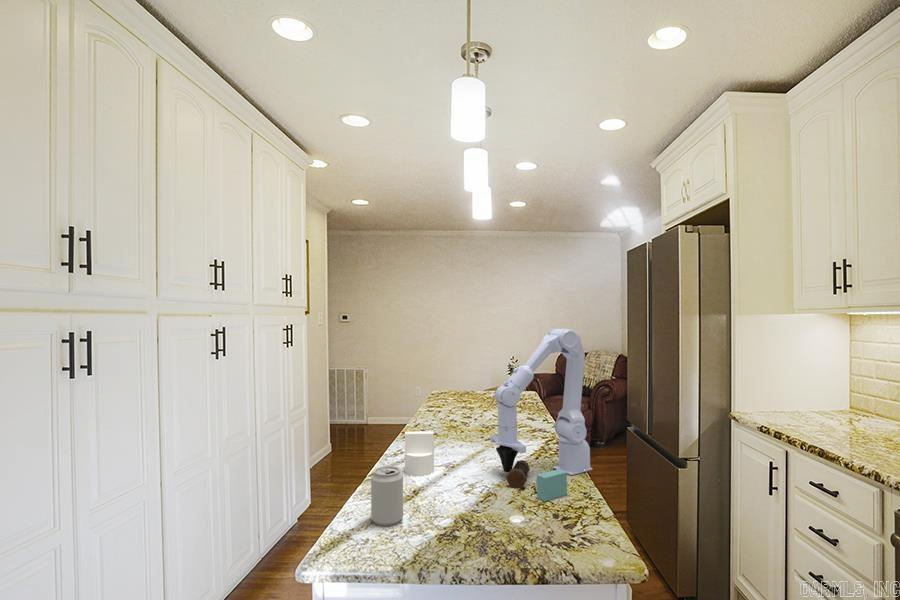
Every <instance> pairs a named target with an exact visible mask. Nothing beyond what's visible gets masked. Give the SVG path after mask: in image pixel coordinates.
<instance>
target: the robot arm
mask: <svg viewBox="0 0 900 600" xmlns="http://www.w3.org/2000/svg"><path fill="white" fill-rule="evenodd" d="M581 341H582V336H581V335H580V334H578V332H576V330H575V329H572V328H558V327H554V328H551V329H550V330H549V331H548V333H547V334H545V335H544V337H543V338H542V339H541V342H540V344H539V345H538V347H537V348H536V349H535V351H534V352H533V353H532V354H531V356H530V357H529V358H528V360H527V361H526V363H525V364H524V365H519V366H518V367H514V369H512V372H513V373H512V374H511V375H510V376H509V378H507V380H504V381H503V384H502V385H500V386H498V387H497V389H496V390H495V393H494V399H495V401H496V402H497V435H496V434H493V435H490V436H489V439H490V440H489V441H490V443H492V444H495V445H497V446H498V447H495V449H496V450H495V451H496V452H497V454H498V456H499V459H500V462H501V465H502V470H503V472H504V473H509V472H510V470H511V469H512V468H514V463H515V460H516V458H517V455H518V454H526V453H527V445H525V444H523V443H522V442H521V441H519V440H518V428H517V427H518V424H517V423H518V422H517V421H518V420H517V419H518V418H517V416H518V415H517V413H518V412H517V408H518V407H517V404H519V403H520V400H521V394H522V393H523V392H524V390H525V389H526V388H528V386H529V385H530V383H531V382H533V380H534V376H535V375H534V373H535V371H536V370H537V369H538V368H539V367H540V366H541V364H543V363H544V361H545V360H546V359H548V357H549V356H550V355H551V354H555V353H559V352H560V353H561V355H563V356H564V357H565V359H566V365H565V376H564V387H563V389H564V390H563V399H562V408H561V410H559V412H558V414H557V418H556V421H555V423H554V431H555V433H556V434H557V436H558V465H555V466H552V468H553V469H554V470H557V469H559V470H562V471H565V472H567V475H570V476H573V475H578V474H581V473H584V472H588V471H592V470H593V468H592V467H591V448H590V445H589V443H588V442H587V440H586V437H587V434H588V433H587V431H588V430H587V428H586V423H585V422H586V419H585V417H584V415H583V414H582V411H581V409H582V408H581V407H582V395H583V384H584V369H585V358H586V355H585V354H586V353H585V350H584V348H583V345H582V342H581ZM584 469H585V471H584Z"/></svg>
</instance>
